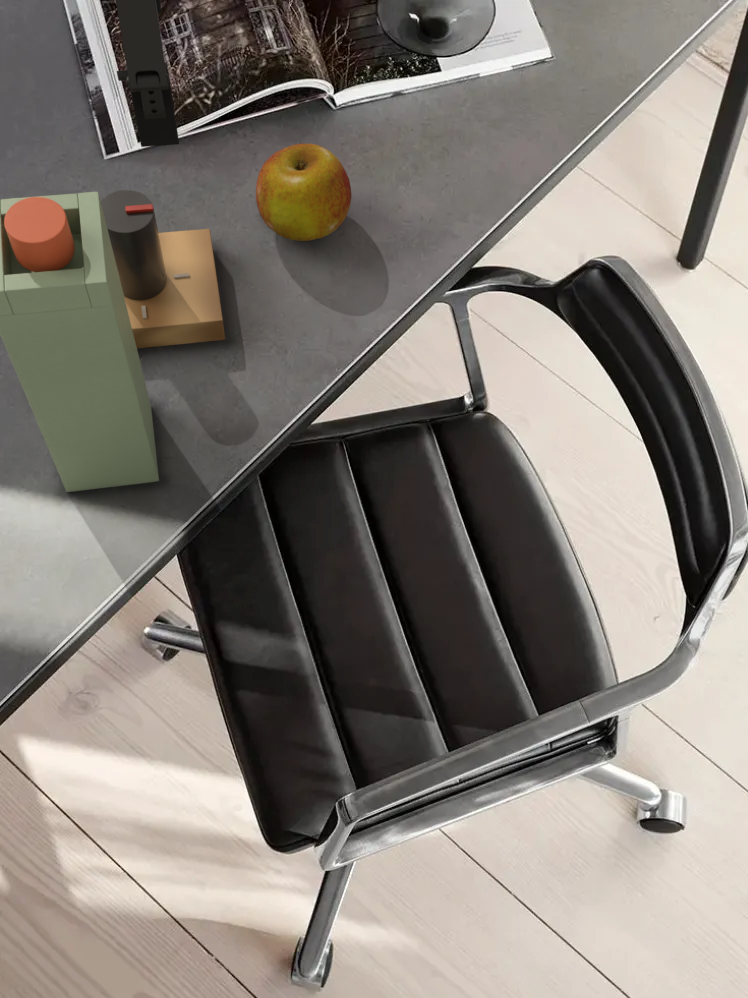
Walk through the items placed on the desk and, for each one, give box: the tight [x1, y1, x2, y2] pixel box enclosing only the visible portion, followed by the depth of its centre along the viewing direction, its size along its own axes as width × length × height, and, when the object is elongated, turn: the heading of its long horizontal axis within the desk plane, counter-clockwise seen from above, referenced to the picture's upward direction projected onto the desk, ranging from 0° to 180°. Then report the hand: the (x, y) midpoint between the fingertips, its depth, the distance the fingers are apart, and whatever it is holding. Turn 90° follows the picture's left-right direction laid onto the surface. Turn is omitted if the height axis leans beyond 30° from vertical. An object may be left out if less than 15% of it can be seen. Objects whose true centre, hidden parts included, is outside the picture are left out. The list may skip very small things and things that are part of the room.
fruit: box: [255, 143, 352, 242], centre depth 110 cm, size 10×9×8 cm
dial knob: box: [100, 189, 167, 300], centre depth 101 cm, size 5×5×9 cm
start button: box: [4, 196, 75, 272], centre depth 76 cm, size 4×4×3 cm
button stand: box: [0, 191, 160, 493], centre depth 89 cm, size 8×8×27 cm
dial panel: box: [124, 228, 226, 349], centre depth 106 cm, size 14×11×3 cm
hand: (151, 74), depth 84 cm, fingers open, 13 cm apart
